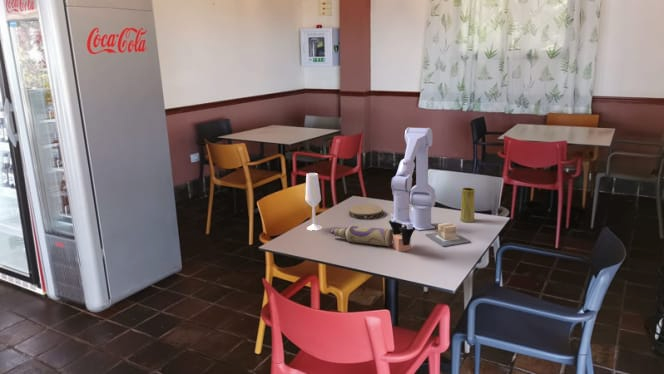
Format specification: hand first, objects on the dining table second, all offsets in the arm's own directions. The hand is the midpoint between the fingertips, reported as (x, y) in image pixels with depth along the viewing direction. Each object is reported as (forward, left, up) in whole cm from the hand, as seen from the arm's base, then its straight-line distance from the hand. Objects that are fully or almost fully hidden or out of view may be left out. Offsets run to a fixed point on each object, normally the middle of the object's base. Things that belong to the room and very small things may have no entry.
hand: (401, 241), depth 193 cm
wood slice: (-46, +4, -3) cm, 46 cm away
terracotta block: (0, 0, -3) cm, 3 cm away
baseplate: (-2, +21, -3) cm, 21 cm away
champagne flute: (-37, -24, -3) cm, 44 cm away
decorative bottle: (-13, -10, -3) cm, 17 cm away
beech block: (-2, +21, -2) cm, 21 cm away
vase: (-19, +41, -3) cm, 45 cm away
